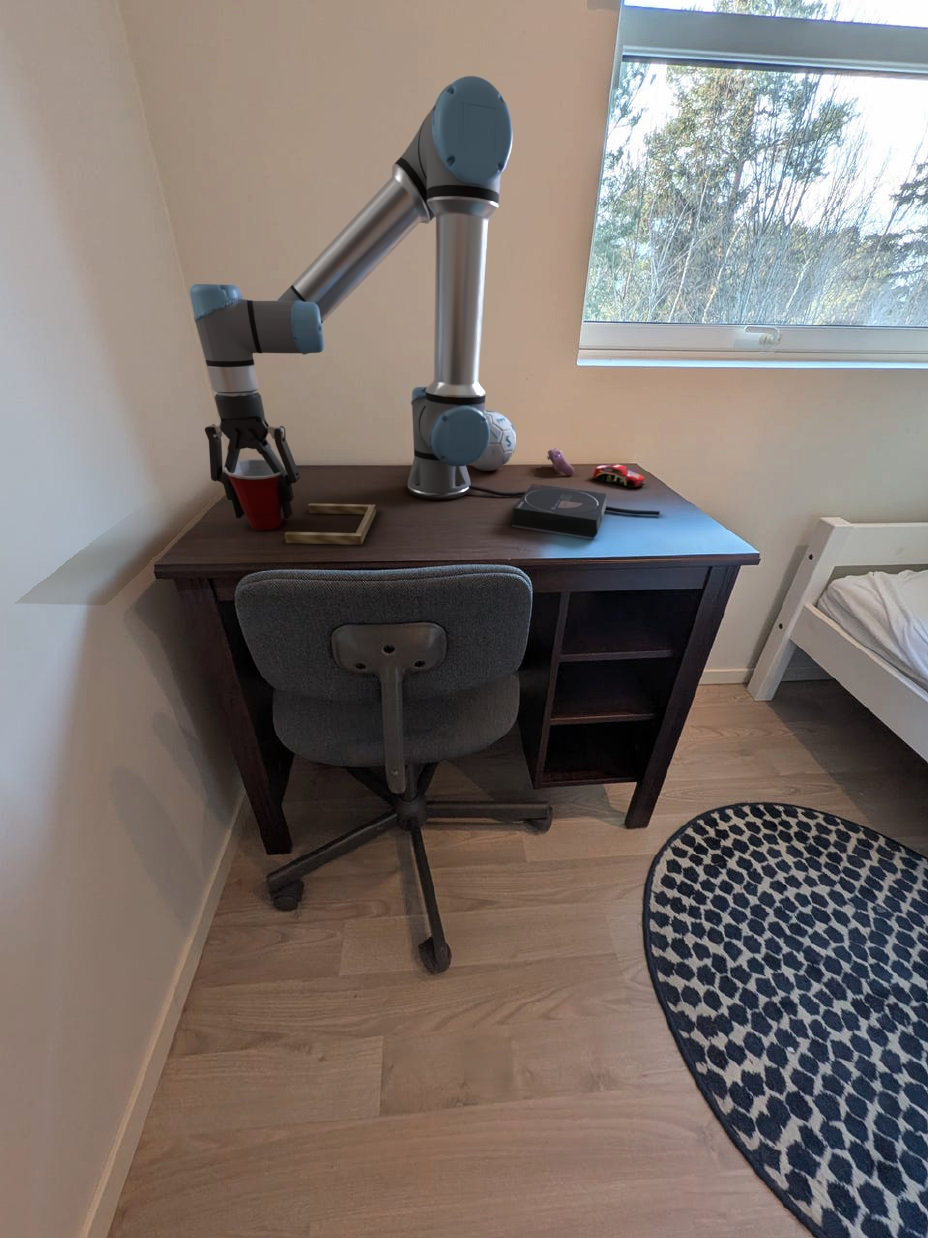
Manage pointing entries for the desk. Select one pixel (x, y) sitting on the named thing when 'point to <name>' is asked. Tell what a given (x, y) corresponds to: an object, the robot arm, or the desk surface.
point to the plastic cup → (257, 492)
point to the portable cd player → (560, 511)
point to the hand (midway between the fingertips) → (264, 515)
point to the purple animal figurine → (560, 462)
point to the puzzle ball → (497, 443)
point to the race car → (619, 475)
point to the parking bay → (336, 537)
